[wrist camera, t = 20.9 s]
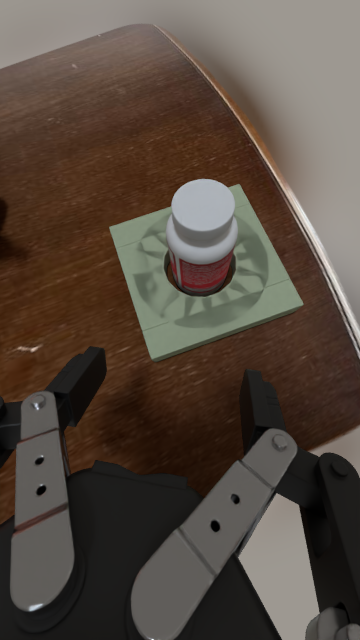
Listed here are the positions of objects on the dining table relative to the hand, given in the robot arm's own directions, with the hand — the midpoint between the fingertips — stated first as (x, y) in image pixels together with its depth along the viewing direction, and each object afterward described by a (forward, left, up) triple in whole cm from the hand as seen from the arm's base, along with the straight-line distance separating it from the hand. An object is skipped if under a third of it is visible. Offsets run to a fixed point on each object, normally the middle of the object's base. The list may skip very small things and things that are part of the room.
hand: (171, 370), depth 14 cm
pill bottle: (+11, -6, -12) cm, 17 cm away
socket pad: (+11, -6, -12) cm, 17 cm away
